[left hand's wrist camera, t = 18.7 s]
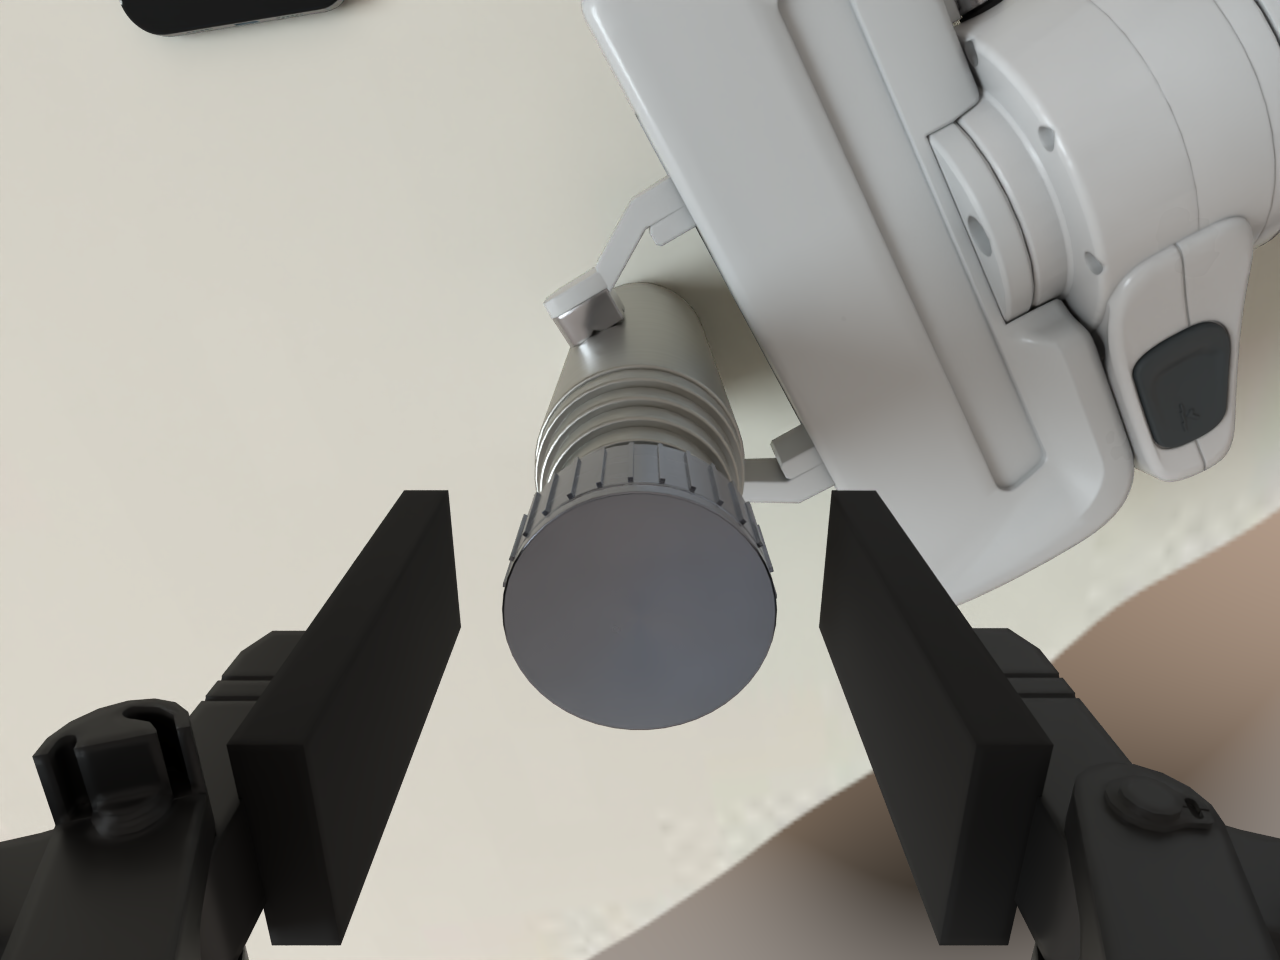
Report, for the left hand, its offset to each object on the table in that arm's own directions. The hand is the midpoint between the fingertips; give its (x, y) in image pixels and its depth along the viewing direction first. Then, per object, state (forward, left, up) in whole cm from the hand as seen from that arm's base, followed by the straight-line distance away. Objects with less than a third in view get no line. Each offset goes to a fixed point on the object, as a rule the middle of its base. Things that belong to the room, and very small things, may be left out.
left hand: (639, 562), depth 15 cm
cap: (0, 0, +2) cm, 2 cm away
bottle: (0, 0, -17) cm, 17 cm away
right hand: (0, -1, -10) cm, 11 cm away
